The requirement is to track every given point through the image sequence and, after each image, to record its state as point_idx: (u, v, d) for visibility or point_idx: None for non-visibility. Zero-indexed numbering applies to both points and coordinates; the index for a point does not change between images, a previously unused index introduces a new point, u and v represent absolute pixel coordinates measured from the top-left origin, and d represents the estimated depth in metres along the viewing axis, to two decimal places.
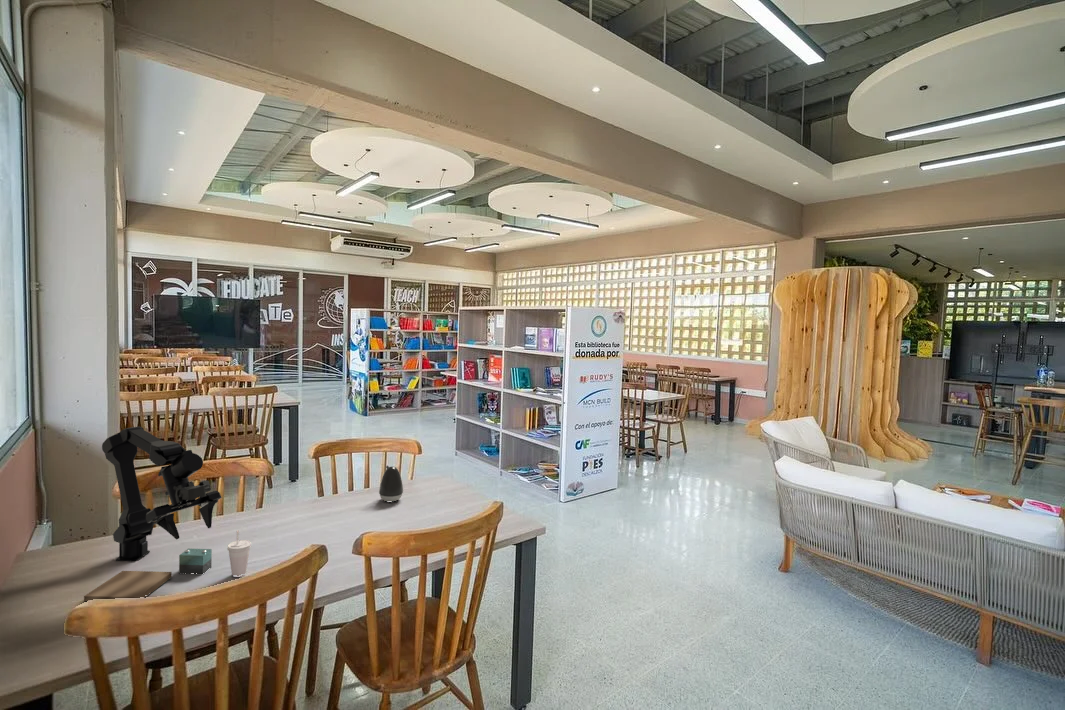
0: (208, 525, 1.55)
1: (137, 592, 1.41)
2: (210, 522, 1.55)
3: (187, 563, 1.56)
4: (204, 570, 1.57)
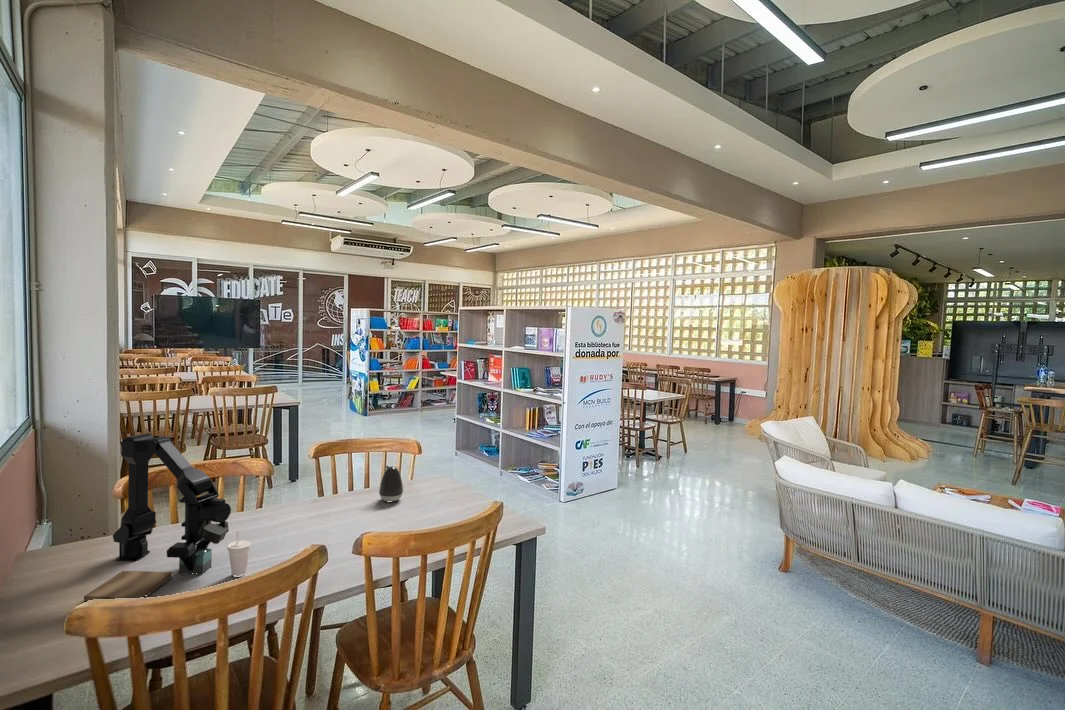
0: None
1: (137, 592, 1.41)
2: None
3: None
4: (204, 570, 1.57)
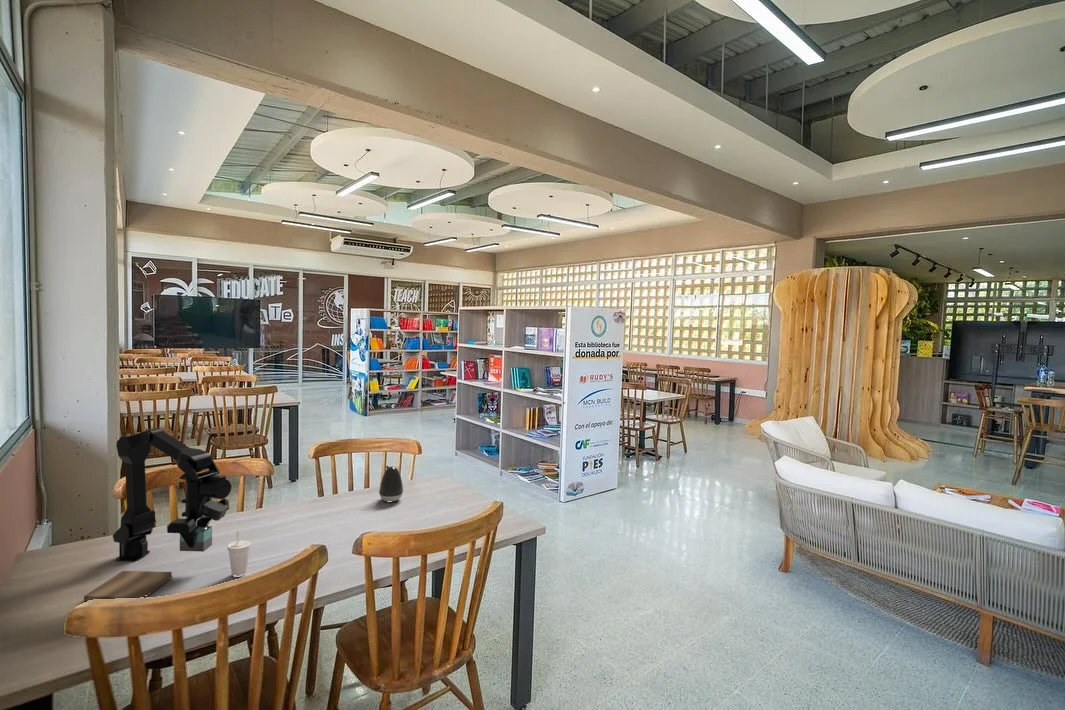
0: None
1: (137, 592, 1.41)
2: None
3: None
4: (205, 547, 1.56)
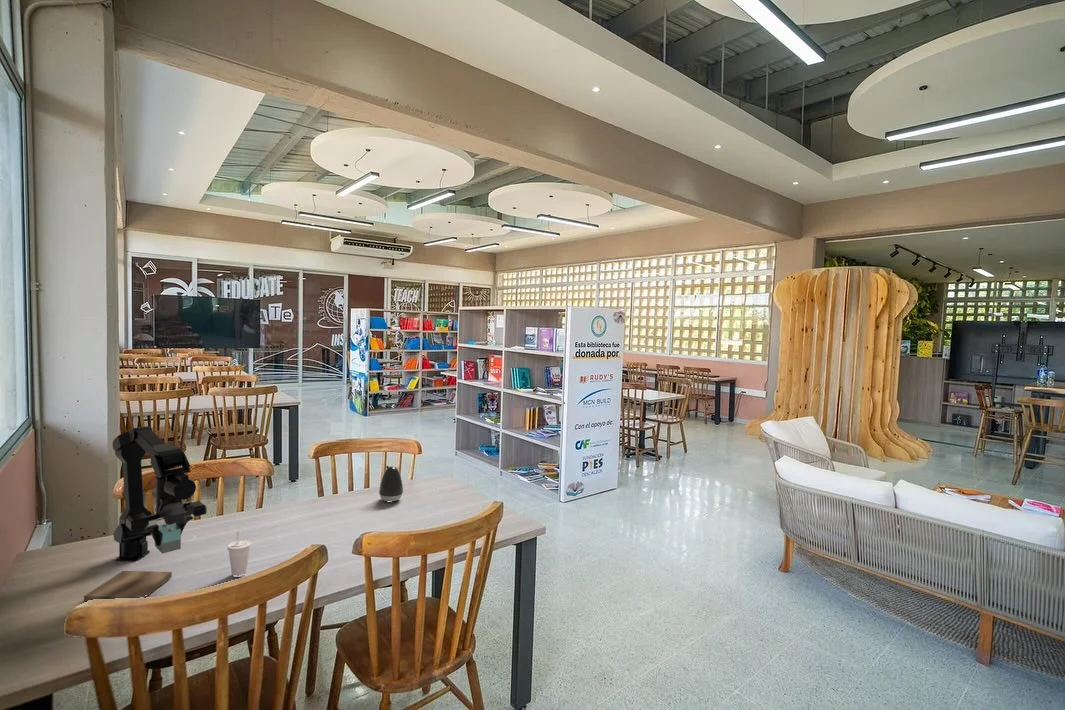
0: None
1: (137, 592, 1.41)
2: None
3: None
4: (165, 549, 1.48)
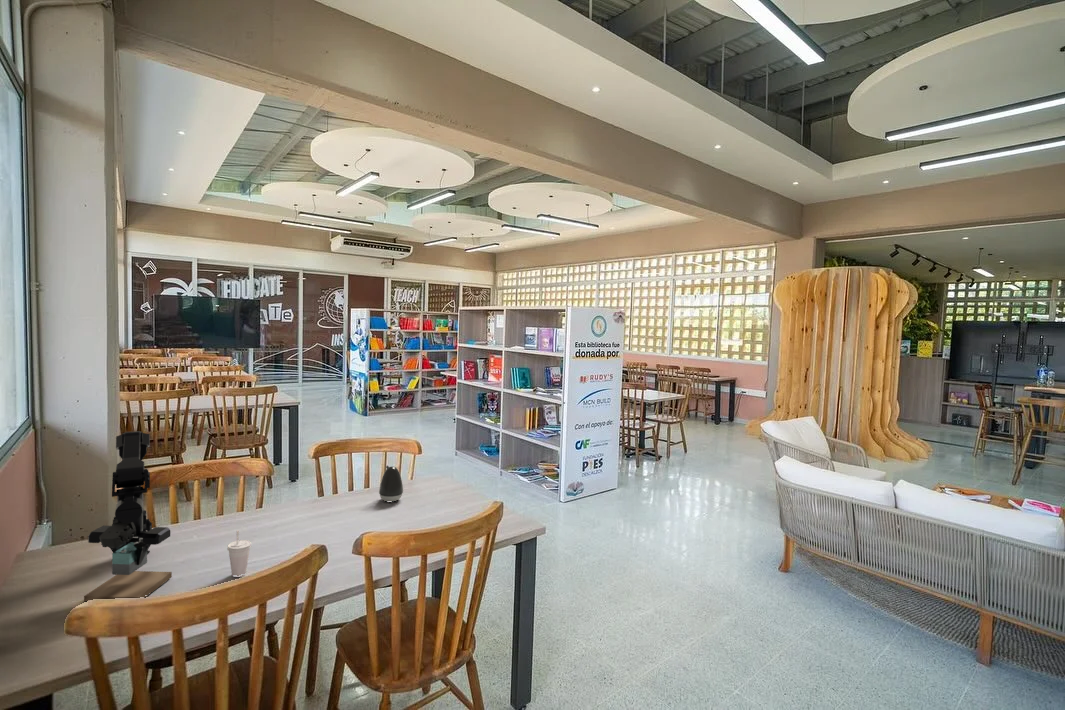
0: None
1: (137, 592, 1.41)
2: (137, 561, 1.44)
3: None
4: (115, 571, 1.41)
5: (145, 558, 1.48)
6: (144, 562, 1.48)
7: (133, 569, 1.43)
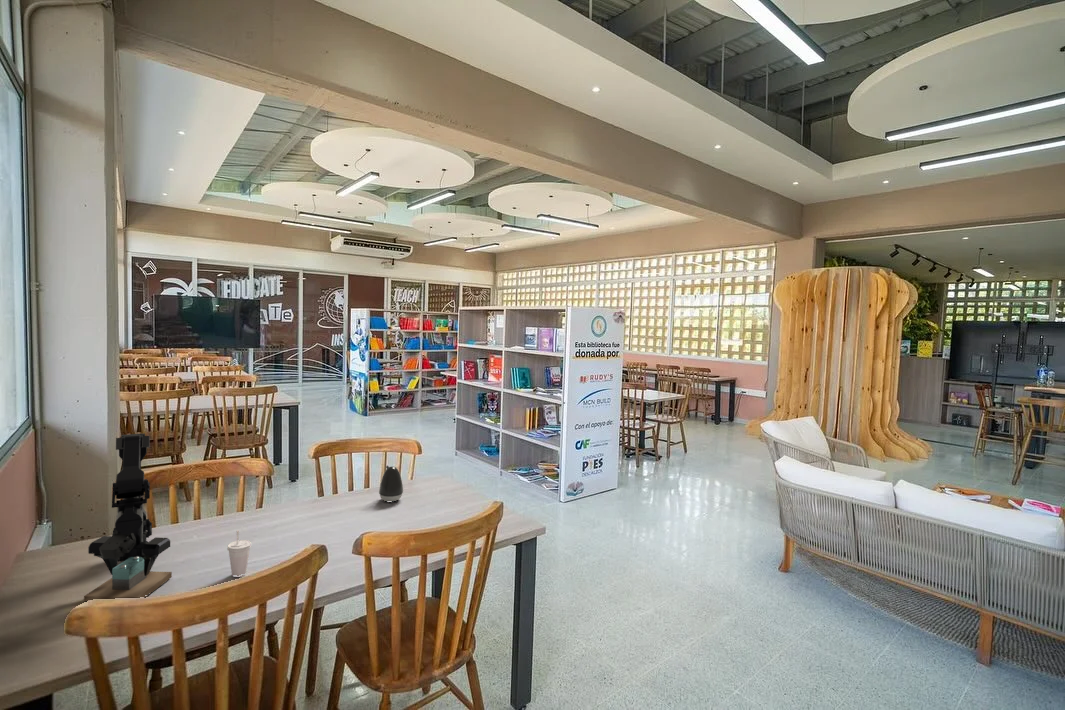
0: None
1: (137, 592, 1.41)
2: (145, 571, 1.45)
3: None
4: (114, 586, 1.42)
5: None
6: (144, 577, 1.48)
7: (133, 584, 1.44)
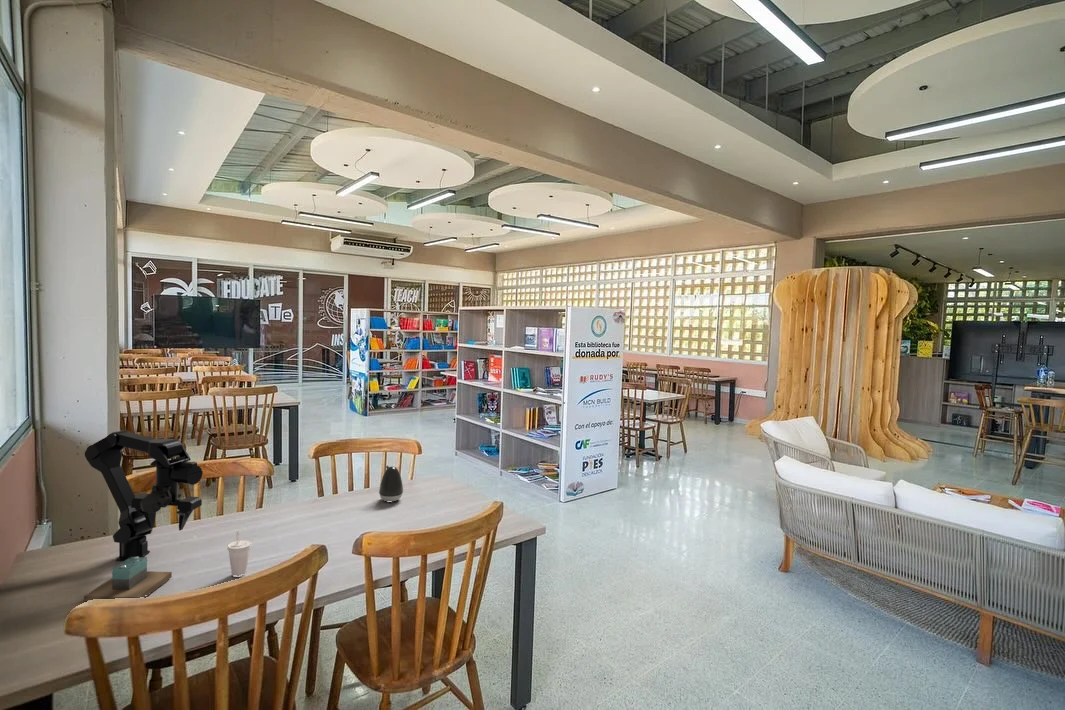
0: None
1: (137, 592, 1.41)
2: (179, 526, 1.61)
3: None
4: (114, 586, 1.42)
5: (145, 573, 1.48)
6: (144, 577, 1.48)
7: (133, 584, 1.44)
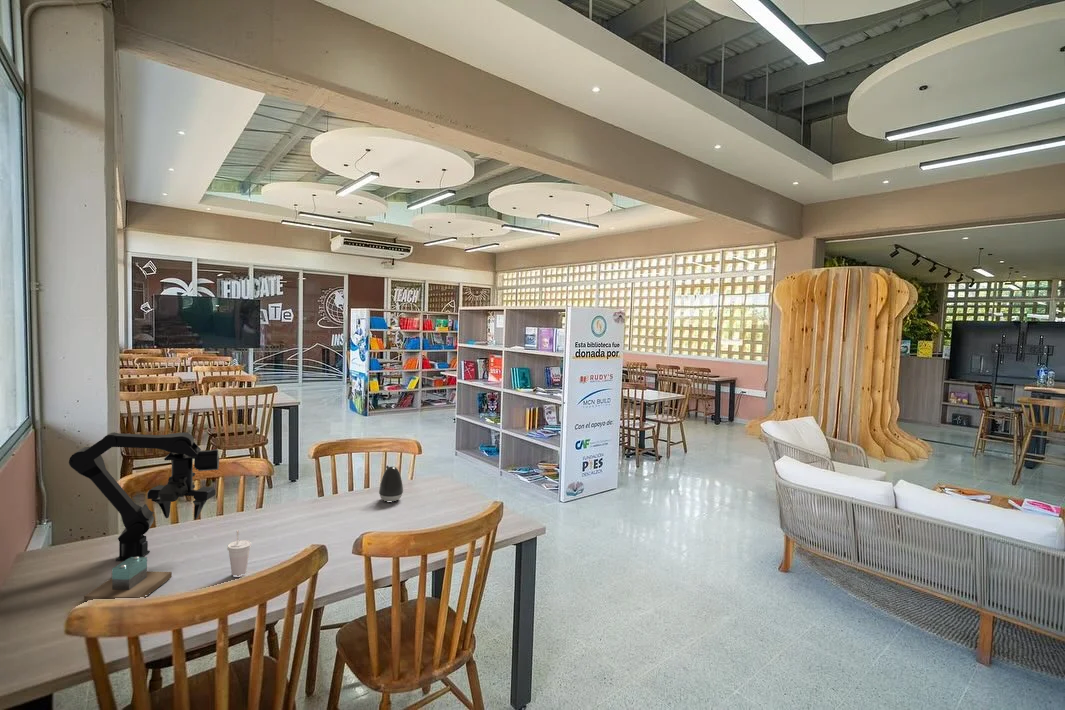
0: None
1: (137, 592, 1.41)
2: (195, 515, 1.69)
3: None
4: (114, 586, 1.42)
5: (145, 573, 1.48)
6: (144, 577, 1.48)
7: (133, 584, 1.44)
